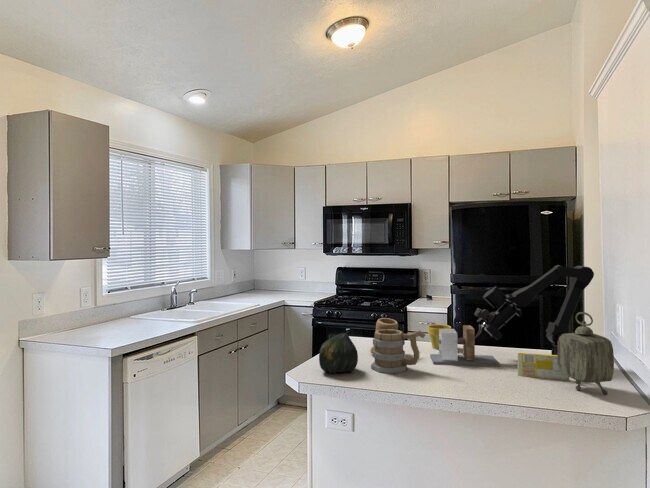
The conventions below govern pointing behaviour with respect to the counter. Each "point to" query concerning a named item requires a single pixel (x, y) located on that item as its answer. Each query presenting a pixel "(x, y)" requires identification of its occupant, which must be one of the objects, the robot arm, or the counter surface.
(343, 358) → the squash
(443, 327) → the plant pot
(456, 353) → the bearing block
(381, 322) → the stone cup
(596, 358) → the tabletop clock
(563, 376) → the candy box
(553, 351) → the robot arm
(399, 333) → the tankard
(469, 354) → the wood block
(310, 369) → the counter surface
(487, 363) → the mat
